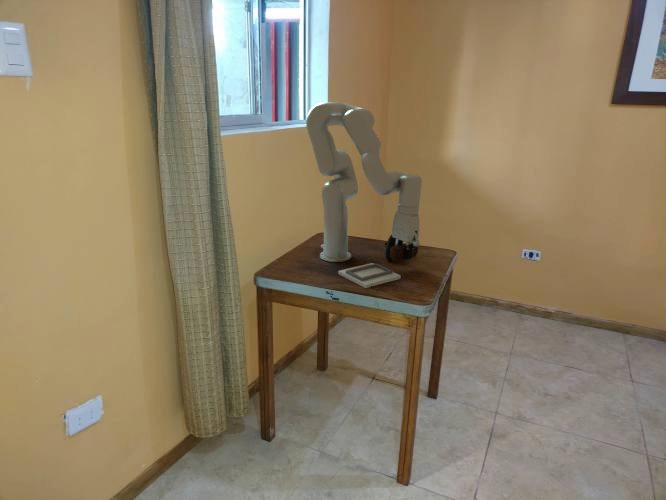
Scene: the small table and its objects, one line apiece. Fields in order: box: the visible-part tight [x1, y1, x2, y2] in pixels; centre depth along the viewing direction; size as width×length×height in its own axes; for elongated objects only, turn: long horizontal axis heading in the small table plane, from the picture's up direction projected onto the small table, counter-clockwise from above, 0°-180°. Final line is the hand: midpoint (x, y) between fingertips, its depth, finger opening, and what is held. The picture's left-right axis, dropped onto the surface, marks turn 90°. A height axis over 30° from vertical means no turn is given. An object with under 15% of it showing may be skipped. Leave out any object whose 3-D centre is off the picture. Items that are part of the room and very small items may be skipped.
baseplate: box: [337, 262, 401, 289], centre depth 165 cm, size 16×16×2 cm
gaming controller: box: [384, 234, 395, 262], centre depth 186 cm, size 14×6×10 cm, turn 157°
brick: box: [390, 243, 419, 261], centre depth 170 cm, size 11×4×5 cm, turn 124°
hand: (403, 256), depth 171 cm, fingers closed on brick, 4 cm apart
